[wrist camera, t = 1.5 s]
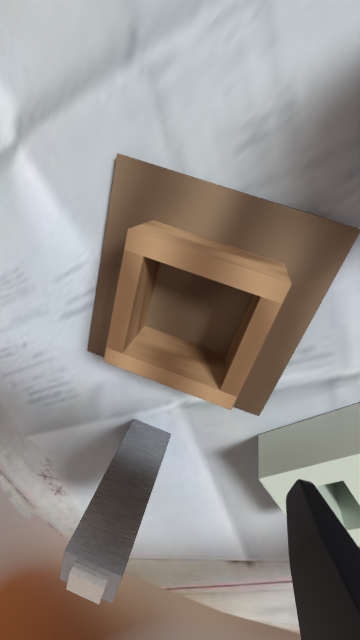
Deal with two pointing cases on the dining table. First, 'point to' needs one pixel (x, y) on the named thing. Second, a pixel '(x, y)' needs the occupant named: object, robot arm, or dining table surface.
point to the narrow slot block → (317, 462)
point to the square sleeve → (208, 283)
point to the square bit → (114, 516)
